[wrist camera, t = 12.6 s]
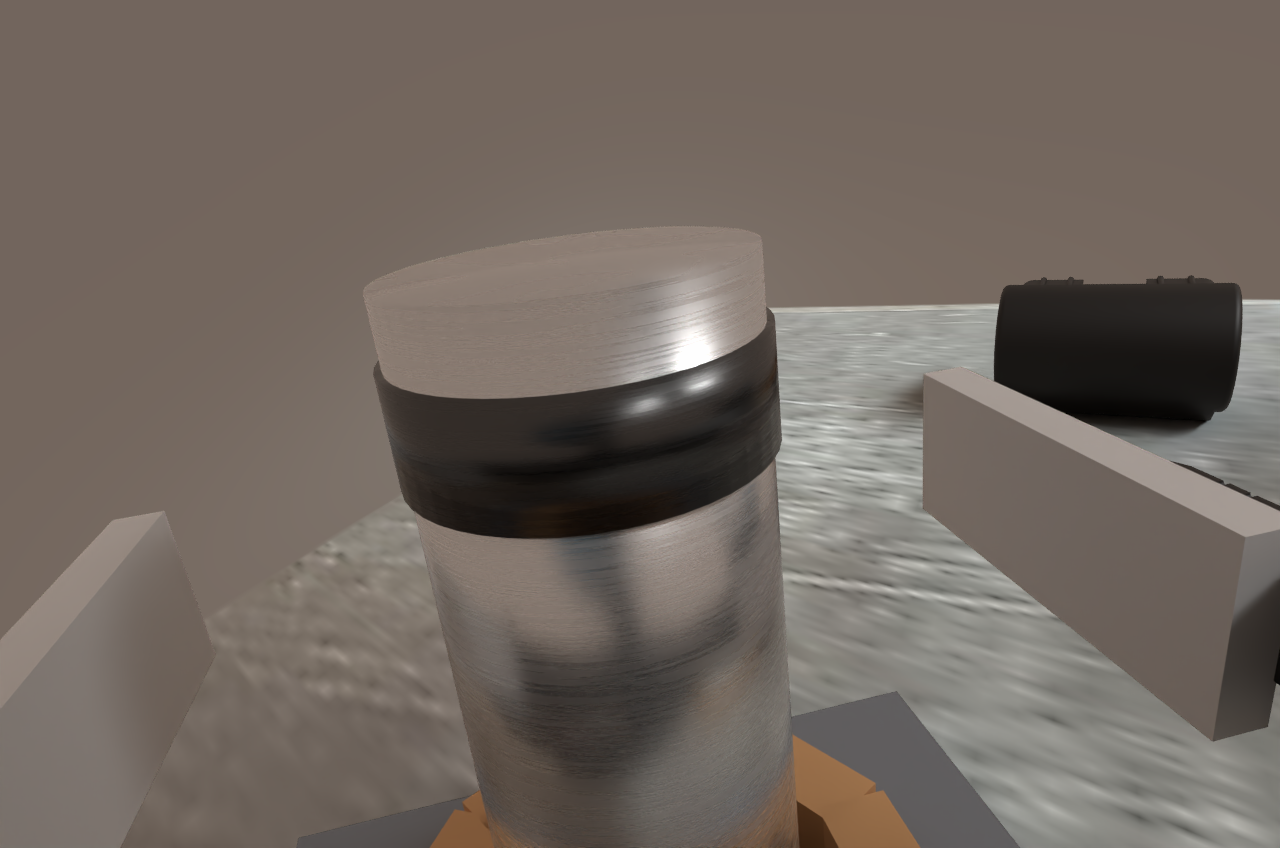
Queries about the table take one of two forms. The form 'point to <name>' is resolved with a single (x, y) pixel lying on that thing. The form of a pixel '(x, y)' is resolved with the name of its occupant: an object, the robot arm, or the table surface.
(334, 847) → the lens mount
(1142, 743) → the table surface
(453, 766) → the table surface
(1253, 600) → the robot arm
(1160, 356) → the end cap
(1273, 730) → the table surface
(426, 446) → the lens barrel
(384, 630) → the table surface
